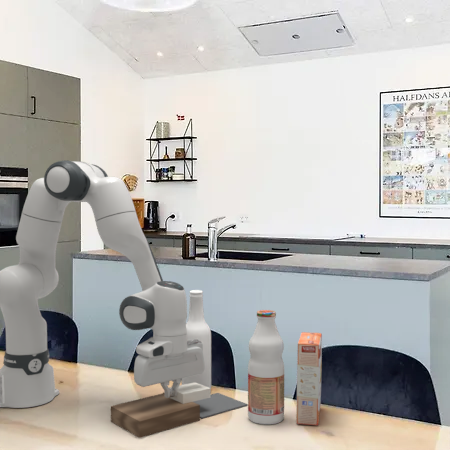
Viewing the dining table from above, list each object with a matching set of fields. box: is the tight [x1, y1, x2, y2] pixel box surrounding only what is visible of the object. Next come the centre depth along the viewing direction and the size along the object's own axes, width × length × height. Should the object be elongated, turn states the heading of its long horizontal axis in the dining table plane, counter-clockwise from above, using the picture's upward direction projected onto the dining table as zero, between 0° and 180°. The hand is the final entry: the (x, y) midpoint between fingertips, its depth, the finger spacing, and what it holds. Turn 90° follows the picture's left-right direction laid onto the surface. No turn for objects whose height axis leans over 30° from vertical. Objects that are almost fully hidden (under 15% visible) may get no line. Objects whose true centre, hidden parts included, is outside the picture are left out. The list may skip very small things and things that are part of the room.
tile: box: [168, 382, 212, 404], centre depth 159 cm, size 7×9×2 cm
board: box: [110, 392, 201, 439], centre depth 153 cm, size 14×18×4 cm
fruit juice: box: [247, 309, 285, 425], centre depth 154 cm, size 9×9×28 cm
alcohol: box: [181, 289, 212, 389], centre depth 177 cm, size 9×9×30 cm
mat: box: [193, 392, 248, 420], centre depth 164 cm, size 13×16×1 cm
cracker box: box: [295, 331, 323, 427], centre depth 156 cm, size 14×6×21 cm, turn 168°
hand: (170, 396), depth 155 cm, fingers closed
